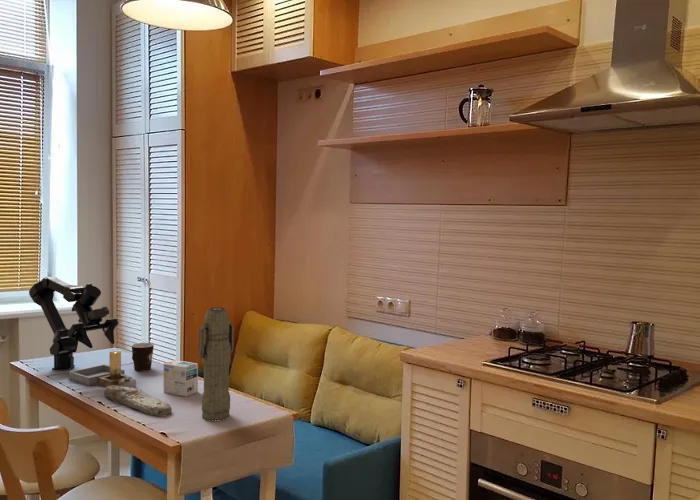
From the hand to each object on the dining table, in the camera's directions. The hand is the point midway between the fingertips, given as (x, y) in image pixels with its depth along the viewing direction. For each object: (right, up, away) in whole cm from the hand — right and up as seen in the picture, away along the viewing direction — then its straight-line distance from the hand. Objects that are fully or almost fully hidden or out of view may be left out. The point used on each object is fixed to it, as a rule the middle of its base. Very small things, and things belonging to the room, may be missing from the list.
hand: (102, 345), depth 235 cm
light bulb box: (+33, -15, -11) cm, 38 cm away
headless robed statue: (+51, -17, -36) cm, 64 cm away
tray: (-3, -13, +3) cm, 14 cm away
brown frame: (+9, -14, -5) cm, 17 cm away
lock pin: (+6, -14, -4) cm, 15 cm away
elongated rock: (+21, -16, -25) cm, 37 cm away
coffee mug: (+8, -13, +17) cm, 23 cm away
